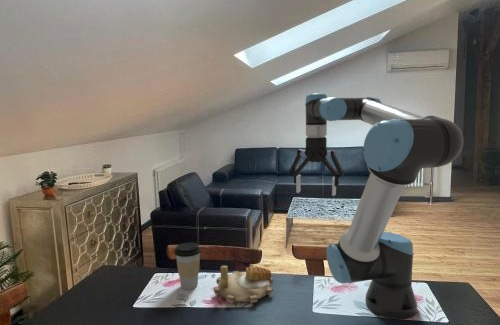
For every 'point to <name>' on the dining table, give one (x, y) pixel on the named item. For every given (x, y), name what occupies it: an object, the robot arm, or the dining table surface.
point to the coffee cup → (188, 264)
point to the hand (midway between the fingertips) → (315, 193)
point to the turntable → (241, 287)
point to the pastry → (257, 273)
